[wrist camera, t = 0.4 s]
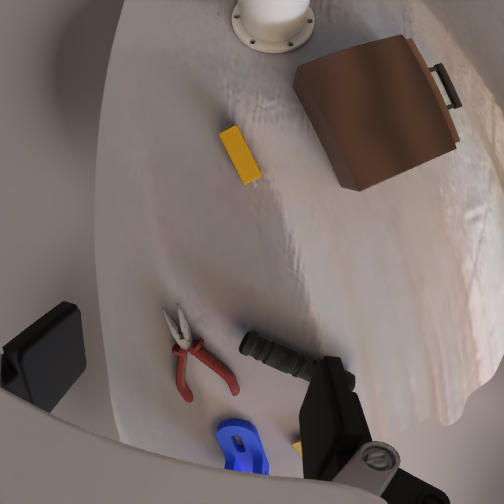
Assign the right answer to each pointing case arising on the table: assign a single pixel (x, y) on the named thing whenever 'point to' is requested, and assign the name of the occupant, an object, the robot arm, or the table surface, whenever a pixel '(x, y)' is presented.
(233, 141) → the tall yellow pillar
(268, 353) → the flashlight
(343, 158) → the cabinet
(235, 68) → the table surface
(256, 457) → the bracket
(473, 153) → the table surface
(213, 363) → the pliers
